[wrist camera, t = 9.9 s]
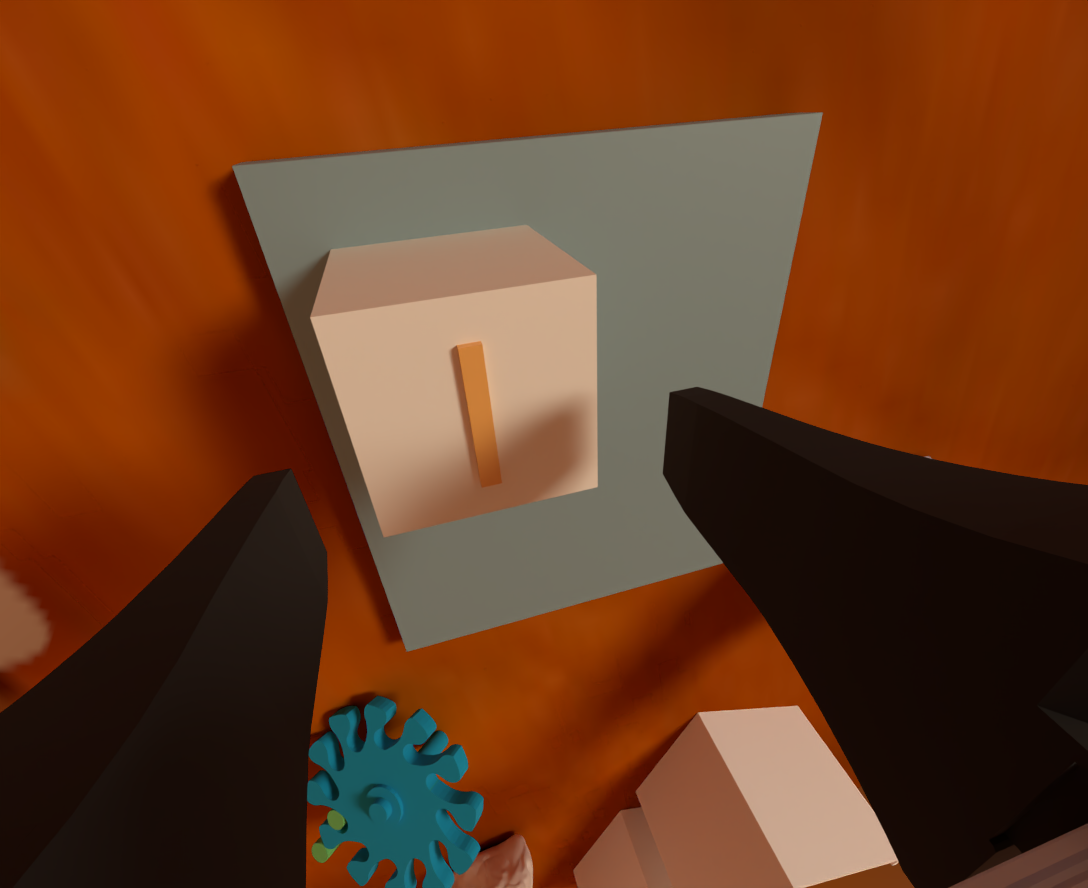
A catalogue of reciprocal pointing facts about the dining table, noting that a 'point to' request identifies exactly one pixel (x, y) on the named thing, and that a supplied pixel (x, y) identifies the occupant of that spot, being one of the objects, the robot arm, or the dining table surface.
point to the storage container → (740, 812)
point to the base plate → (622, 329)
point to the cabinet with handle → (463, 371)
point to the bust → (499, 867)
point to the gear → (393, 797)
